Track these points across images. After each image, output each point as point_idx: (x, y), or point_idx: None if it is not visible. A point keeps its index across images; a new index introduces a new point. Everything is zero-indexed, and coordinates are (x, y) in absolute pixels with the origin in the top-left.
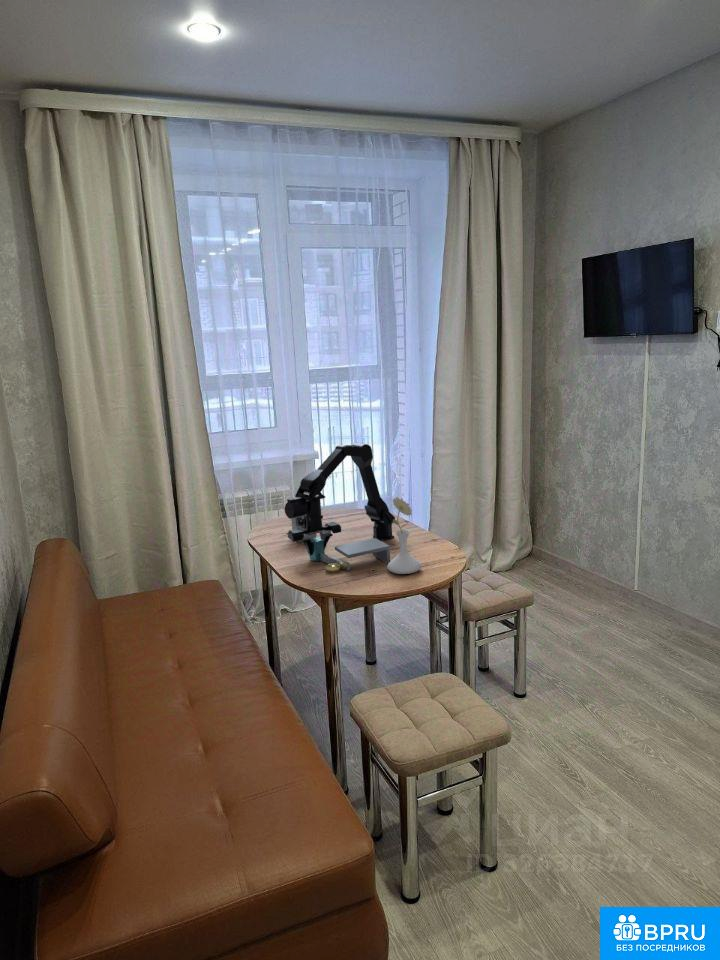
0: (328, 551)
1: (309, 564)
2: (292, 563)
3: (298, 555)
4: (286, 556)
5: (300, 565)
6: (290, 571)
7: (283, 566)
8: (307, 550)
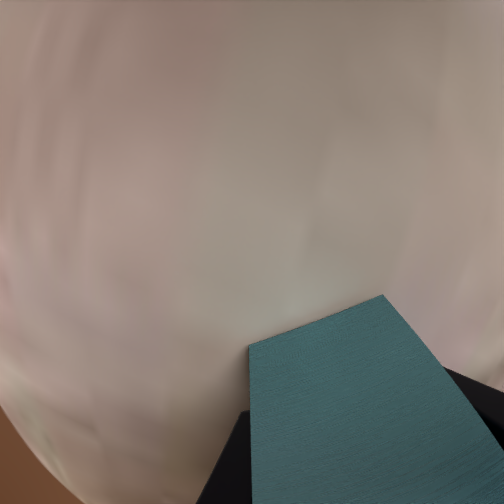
0: (500, 156)
1: (214, 443)
2: (55, 361)
3: (129, 104)
4: (3, 102)
5: (132, 432)
6: (75, 470)
7: (4, 381)
8: (220, 471)
